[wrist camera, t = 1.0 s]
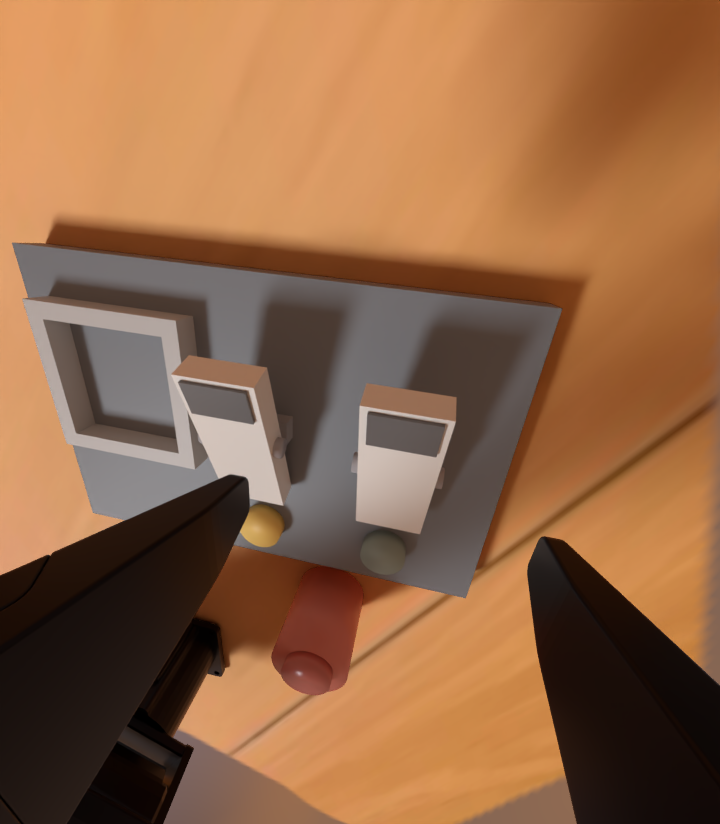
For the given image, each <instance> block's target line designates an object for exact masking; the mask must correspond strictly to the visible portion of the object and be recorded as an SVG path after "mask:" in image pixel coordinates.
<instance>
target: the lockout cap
mask: <svg viewBox="0 0 720 824" xmlns="http://www.w3.org/2000/svg"><path fill="white" fill-rule="evenodd" d="M363 596H364V594H363V590H362V587H361V585H360V584H359V582H358V581H357V580H356V579H355V578H354V577H353V576H352V575H350V574H349V573H347V572H345V571H343V570H341V569H336V568H332V567H327V566H320V567H315V568H312V569H310V570H308V571H307V572H306V573H305V574H304V576H303V577H302V580H301V582H300V585H299V587H298V590H297V592H296V595H295V597H294V600H293V602H292V605H291V607H290V610H289V612H288V615H287V617H286V619H285V622H284V624H283V627H282V629H281V632H280V634H279V637H278V639H277V642H276V644H275V647H274V649H273V652H272V657H271V658H272V663H273V665H274V667H275V669H276V670H277V671H278V672H279V674H281V676H282V678H283V680H284V681H285V682H286V683H287V684H288V685H289V686H290V687H292V688H293V689H295V690H297V691H299V692H301V693H305V694H309V695H321V694H324V693H326V692H329V691H334V690H337V689H339V688H341V687H342V686H343V685H344V684H345V683H346V681H347V677H348V672H349V667H350V662H351V657H352V652H353V647H354V642H355V637H356V632H357V627H358V622H359V617H360V612H361V607H362V602H363Z"/></svg>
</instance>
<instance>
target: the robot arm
mask: <svg viewBox="0 0 720 824" xmlns="http://www.w3.org/2000/svg"><path fill="white" fill-rule="evenodd" d="M249 509H250V495H249V482H248V479H247V478H246V477H244V476H239V475H234V474H229V475H226V476H224V477H222V478H220V479H217V480H215V481H213V482H211V483H208V484H206V485H204V486H202V487H199V488H197V489H195V490H193V491H190V492H188V493H186V494H184V495H181V496H179V497H177V498H174V499H172V500H170V501H168V502H165V503H163V504H161V505H159V506H156V507H154V508H152V509H150V510H147V511H145V512H143V513H141V514H138V515H136V516H134V517H132V518H129V519H127V520H125V521H123V522H120V523H118V524H116V525H114V526H111V527H109V528H107V529H105V530H102V531H100V532H98V533H96V534H93V535H91V536H89V537H87V538H84V539H82V540H80V541H78V542H75V543H73V544H71V545H69V546H66V547H64V548H62V549H60V550H57V551H55V552H53V553H52V554H51V556H50V555H46V556H44V557H41V558H39V559H37V560H35V561H32V562H30V563H28V564H26V565H23V566H21V567H19V568H16V569H14V570H12V571H9V572H7V573H5V574H2V575H0V824H163V823H164V820H165V818H166V815H167V813H168V811H169V808H170V806H171V803H172V801H173V798H174V796H175V793H176V791H177V788H178V786H179V784H180V781H181V779H182V776H183V774H184V772H185V769H186V767H187V764H188V762H189V759H190V757H191V754H192V752H193V750H194V748H193V747H191V746H190V745H188V744H187V745H184V744H183V743H181V742H179V741H177V740H176V739H174V738H173V736H174V735H175V733H176V731H177V729H178V727H179V725H180V724H181V722H182V720H183V718H184V716H185V714H186V712H187V710H188V709H189V707H190V705H191V703H192V701H193V699H194V697H195V696H196V694H197V692H198V690H199V688H200V686H201V684H202V682H203V681H204V679H205V677H206V675H207V674H211V675H215V676H219V677H220V676H222V675H223V673H224V670H225V668H224V660H223V651H222V643H221V635H220V629H219V627H218V626H217V625H215V624H212V623H208V622H205V621H201V620H197V619H193V617H194V615H195V614H196V612H197V610H198V609H199V607H200V606H201V604H202V602H203V601H204V599H205V597H206V596H207V594H208V592H209V591H210V589H211V588H212V586H213V584H214V583H215V581H216V579H217V577H218V576H219V574H220V572H221V570H222V568H223V566H224V564H225V562H226V560H227V558H228V555H229V553H230V551H231V549H232V547H233V545H234V543H235V541H236V539H237V537H238V535H239V533H240V531H241V528H242V526H243V524H244V522H245V520H246V518H247V516H248V513H249ZM527 575H528V584H529V592H530V600H531V608H532V616H533V624H534V632H535V640H536V647H537V653H538V658H539V663H540V668H541V672H542V676H543V681H544V685H545V689H546V693H547V698H548V702H549V706H550V711H551V715H552V719H553V724H554V728H555V732H556V736H557V741H558V745H559V749H560V754H561V758H562V762H563V767H564V771H565V775H566V779H567V783H568V788H569V792H570V796H571V801H572V805H573V810H574V814H575V818H576V822H577V824H720V685H719V684H718V683H717V682H716V681H714V680H713V679H712V678H711V677H710V676H709V675H708V674H707V673H706V672H705V671H704V670H703V669H702V668H700V667H699V666H698V665H697V664H696V663H695V662H694V661H693V660H692V659H691V658H690V657H689V656H688V655H686V654H685V653H684V652H683V651H682V650H681V649H680V648H679V647H678V646H677V645H676V644H675V643H674V642H673V641H671V640H670V639H669V638H668V637H667V636H666V635H665V634H664V633H663V632H662V631H661V630H660V629H659V628H657V627H656V626H655V625H654V624H653V623H652V622H651V621H650V620H649V619H648V618H647V617H646V616H645V615H643V614H642V613H641V612H640V611H639V610H638V609H637V608H636V607H635V606H634V605H633V604H632V603H631V602H630V601H628V600H627V599H626V598H625V597H624V596H623V595H622V594H621V593H620V592H619V591H618V590H617V589H616V588H614V587H613V586H612V585H611V584H610V583H609V582H608V581H607V580H606V579H605V578H604V577H603V576H602V575H600V574H599V573H598V572H597V571H596V570H595V569H594V568H593V567H592V566H591V565H590V564H589V563H588V562H587V561H585V560H584V559H583V558H582V557H581V556H580V555H579V554H578V553H577V552H576V551H575V550H574V549H573V548H571V547H570V546H569V545H568V544H567V543H566V542H565V541H563V540H560V539H556V538H551V537H546V536H544V537H541V538H540V539H539V541H538V543H537V545H536V547H535V550H534V552H533V554H532V557H531V559H530V562H529V564H528V570H527Z"/></svg>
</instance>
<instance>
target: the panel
mask: <svg viewBox="0 0 720 824" xmlns="http://www.w3.org/2000/svg"><path fill="white" fill-rule="evenodd" d="M12 244H13V248H14V251H15V254H16V258H17V261H18V264H19V268H20V271H21V274H22V278H23V281H24V284H25V288H26V291H27V294H28V298H25V299H22V300H23V303H24V306H25V309H26V313H27V316H28V319H29V322H30V326H31V329H32V332H33V335H34V339H35V342H36V345H37V348H38V352H39V355H40V358H41V361H42V365H43V368H44V371H45V374H46V378H47V381H48V384H49V387H50V391H51V394H52V397H53V400H54V403H55V407H56V410H57V413H58V416H59V420H60V423H61V426H62V429H63V433H64V436H65V439H66V442H67V444H71V445H73V447H74V451H75V454H76V457H77V461H78V464H79V467H80V471H81V474H82V477H83V481H84V484H85V487H86V491H87V494H88V497H89V501H90V504H91V507H92V511H93V513H96V514H100V515H105V516H109V517H113V518H118V519H122V520H127V519H129V518H132V517H134V516H136V515H138V514H141V513H143V512H145V511H147V510H150V509H152V508H154V507H156V506H159V505H161V504H163V503H165V502H168V501H170V500H172V499H174V498H177V497H179V496H181V495H184V494H186V493H188V492H190V491H193V490H195V489H197V488H199V487H202V486H204V485H206V484H208V483H211V482H213V481H215V480H217V479H219V478H218V476H217V474H216V472H215V470H214V468H213V465H212V463H211V461H210V459H209V457H208V454H207V452H206V450H205V448H204V446H203V444H201V443H200V442H199V441H198V433H197V430H196V428H195V426H194V424H193V422H192V420H191V417H190V415H189V413H188V411H187V409H186V407H185V404H184V402H183V400H182V398H181V396H180V393H179V391H178V389H177V387H176V385H175V383H174V380H173V378H172V376H171V374H172V373H173V372H174V371H175V369H176V368H177V367H178V366H179V365H180V364H181V363H182V362H183V361H184V360H185V359H186V358H187V357H188V356H189V355H190V356H196V357H203V358H209V359H216V360H222V361H228V362H235V363H241V364H247V365H254V366H260V367H267V370H268V375H269V379H270V384H271V389H272V394H273V399H274V404H275V409H276V414H277V418H278V423H279V428H280V433H281V438H285V439H286V441H287V447H286V451H285V457H286V462H287V467H288V472H289V477H290V482H291V488H290V491H289V493H288V496H287V498H286V501H285V503H284V505H278V504H273V503H268V502H263V501H259V500H254V499H250V509H249V513H248V516H247V518H246V520H245V522H244V524H243V526H242V528H241V531H240V533H239V535H238V537H237V539H236V541H235V543H234V545H236V546H240V547H244V548H249V549H253V550H258V551H262V552H266V553H271V554H275V555H279V556H284V557H288V558H292V559H297V560H301V561H306V562H310V563H314V564H319V565H323V566H327V567H332V568H336V569H341V570H345V571H349V572H354V573H358V574H362V575H367V576H371V577H375V578H380V579H384V580H389V581H393V582H397V583H402V584H406V585H410V586H415V587H419V588H423V589H428V590H432V591H437V592H441V593H445V594H450V595H454V596H458V597H463V598H466V596H467V593H468V590H469V587H470V584H471V581H472V578H473V575H474V572H475V569H476V566H477V563H478V560H479V557H480V554H481V551H482V548H483V545H484V542H485V539H486V536H487V533H488V530H489V527H490V524H491V521H492V518H493V515H494V512H495V509H496V506H497V503H498V500H499V497H500V494H501V491H502V488H503V485H504V482H505V479H506V476H507V473H508V470H509V467H510V464H511V461H512V458H513V455H514V452H515V449H516V446H517V443H518V440H519V437H520V434H521V431H522V428H523V425H524V422H525V419H526V416H527V413H528V410H529V407H530V404H531V401H532V398H533V395H534V392H535V389H536V386H537V383H538V380H539V377H540V374H541V371H542V368H543V365H544V362H545V359H546V356H547V353H548V350H549V347H550V344H551V341H552V338H553V335H554V332H555V329H556V326H557V323H558V320H559V317H560V314H561V311H562V308H560V307H557V306H555V305H553V304H550V303H542V302H534V301H525V300H517V299H508V298H500V297H492V296H483V295H475V294H466V293H458V292H449V291H441V290H433V289H424V288H416V287H407V286H399V285H390V284H382V283H373V282H365V281H357V280H348V279H340V278H331V277H323V276H314V275H306V274H298V273H289V272H281V271H272V270H264V269H255V268H247V267H238V266H230V265H222V264H213V263H205V262H196V261H188V260H179V259H171V258H163V257H154V256H146V255H137V254H129V253H120V252H112V251H104V250H95V249H87V248H78V247H70V246H61V245H53V244H44V243H12ZM366 383H369V384H375V385H382V386H388V387H394V388H401V389H407V390H413V391H420V392H426V393H433V394H439V395H445V396H452V397H457V398H456V423H455V426H454V429H453V432H452V435H451V439H450V442H449V445H448V448H447V451H446V454H445V457H444V460H443V464H442V467H443V468H444V469H445V473H444V481H443V486H442V489H437V488H435V489H434V492H433V495H432V498H431V501H430V504H429V507H428V511H427V514H426V517H425V520H424V523H423V526H422V529H421V533H420V534H416V533H412V532H407V531H402V530H397V529H392V528H388V527H383V526H378V525H373V524H369V523H364V522H359V521H356V499H357V473H353V472H351V466H352V460H353V456H354V453H355V451H356V452H358V439H359V409H360V403H361V400H362V396H363V393H364V390H365V387H366Z"/></svg>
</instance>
